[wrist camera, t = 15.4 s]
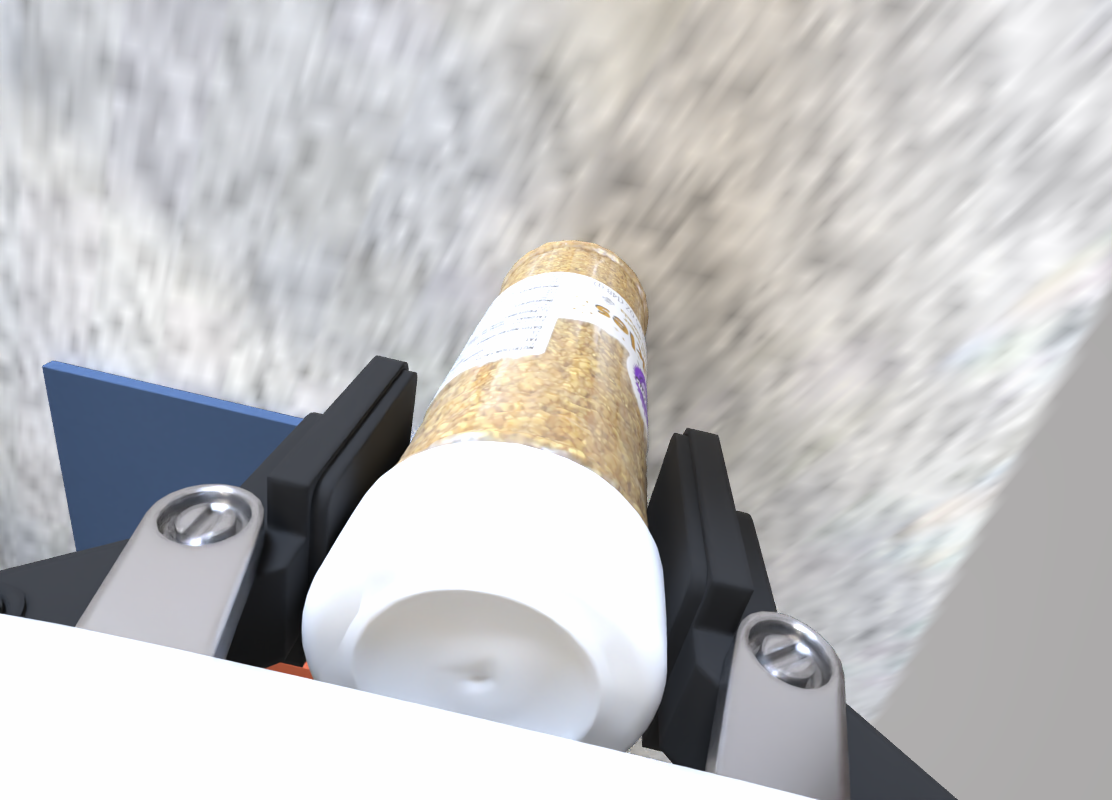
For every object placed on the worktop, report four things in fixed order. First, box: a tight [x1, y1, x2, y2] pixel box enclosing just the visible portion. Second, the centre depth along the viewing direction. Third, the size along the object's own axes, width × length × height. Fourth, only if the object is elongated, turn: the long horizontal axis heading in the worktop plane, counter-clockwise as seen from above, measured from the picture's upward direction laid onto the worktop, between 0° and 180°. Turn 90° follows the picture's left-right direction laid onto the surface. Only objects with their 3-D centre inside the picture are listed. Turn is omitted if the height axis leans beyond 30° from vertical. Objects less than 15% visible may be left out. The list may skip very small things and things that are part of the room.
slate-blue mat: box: [42, 361, 303, 552], centre depth 24 cm, size 18×10×1 cm, turn 78°
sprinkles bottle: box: [302, 240, 667, 752], centre depth 14 cm, size 5×5×13 cm
